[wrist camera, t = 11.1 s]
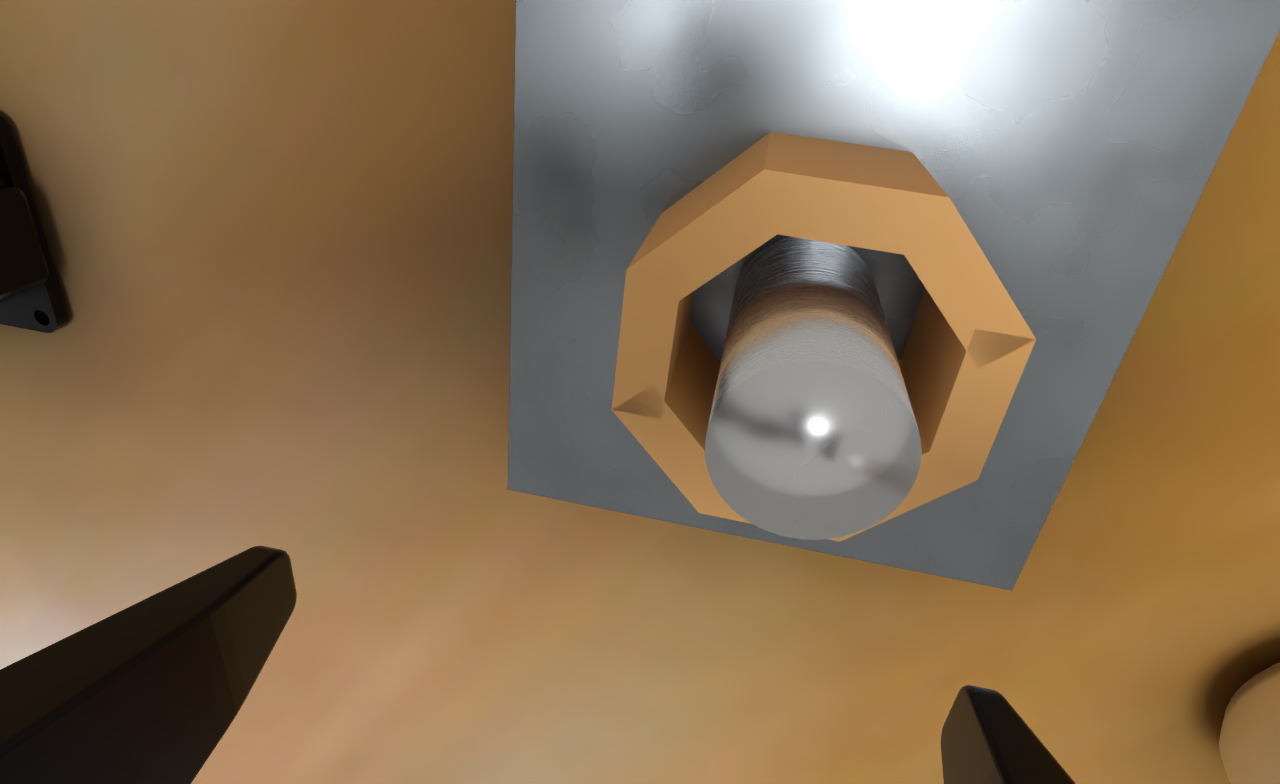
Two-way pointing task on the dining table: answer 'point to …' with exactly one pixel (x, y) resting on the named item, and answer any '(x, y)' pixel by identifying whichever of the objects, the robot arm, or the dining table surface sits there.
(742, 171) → the collar
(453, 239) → the dining table surface
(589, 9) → the piston stand
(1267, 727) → the plastic bottle
